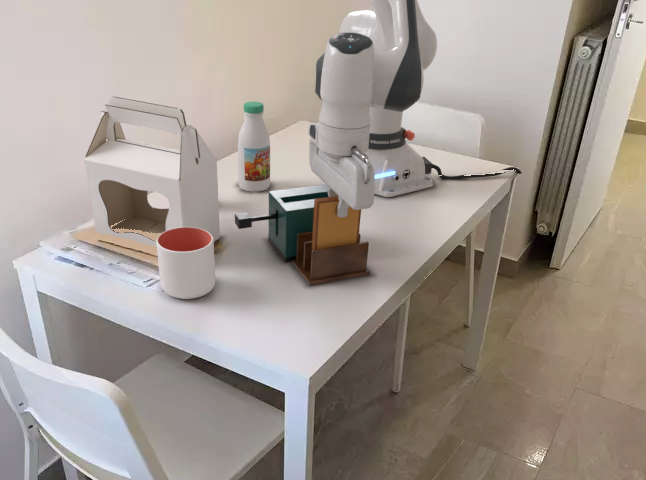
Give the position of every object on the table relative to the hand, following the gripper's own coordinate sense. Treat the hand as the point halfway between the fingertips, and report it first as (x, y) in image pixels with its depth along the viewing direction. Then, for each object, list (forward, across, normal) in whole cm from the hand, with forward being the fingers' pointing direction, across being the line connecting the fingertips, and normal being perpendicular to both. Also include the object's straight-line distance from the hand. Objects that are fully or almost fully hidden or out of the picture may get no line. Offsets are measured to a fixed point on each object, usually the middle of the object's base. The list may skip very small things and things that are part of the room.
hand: (337, 212), depth 122 cm
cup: (+13, +4, +28) cm, 31 cm away
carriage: (+6, +12, +6) cm, 15 cm away
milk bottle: (+13, +46, +1) cm, 48 cm away
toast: (+7, 0, 0) cm, 7 cm away
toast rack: (+13, +2, 0) cm, 13 cm away
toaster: (+13, +12, +1) cm, 18 cm away
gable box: (+13, +25, +29) cm, 40 cm away
